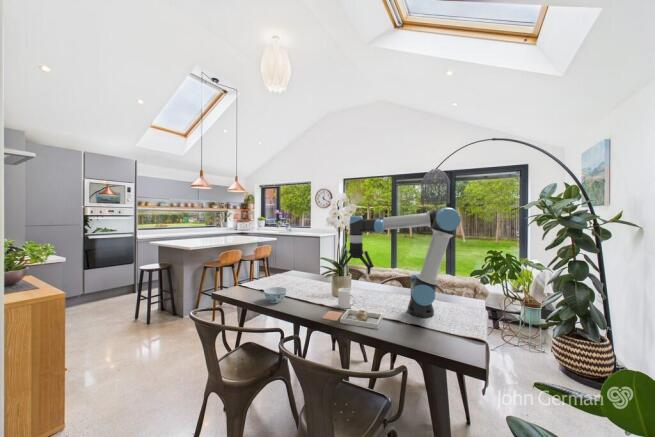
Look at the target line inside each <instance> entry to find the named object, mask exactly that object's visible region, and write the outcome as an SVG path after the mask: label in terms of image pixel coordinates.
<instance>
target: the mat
mask: <svg viewBox="0 0 655 437" xmlns="http://www.w3.org/2000/svg"><path fill="white" fill-rule="evenodd" d="M343 314H344V312H341V311H334V310H329V311H327V312H326V313H325V314H323V316H322V317H321V319H322V320H326V321H334V322H337V321H338V320H340V318H341V317H342V316H343Z"/></svg>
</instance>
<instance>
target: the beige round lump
mask: <svg viewBox="0 0 655 437" xmlns="http://www.w3.org/2000/svg"><path fill="white" fill-rule="evenodd" d="M357 310H358V311H357V313H356V315H355V316H356V319H355V320H358V321H364V322H368V317H367V312H368V310H363V309H357Z"/></svg>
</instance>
